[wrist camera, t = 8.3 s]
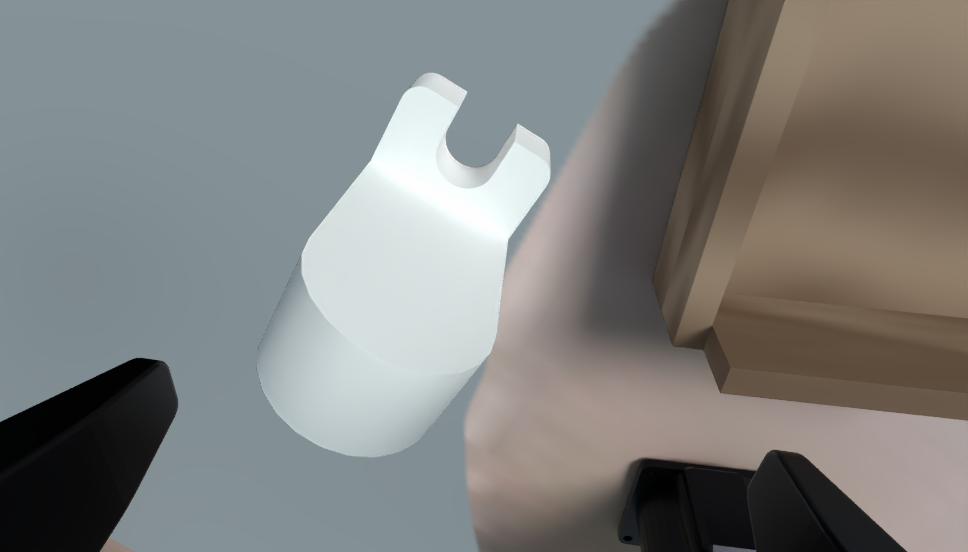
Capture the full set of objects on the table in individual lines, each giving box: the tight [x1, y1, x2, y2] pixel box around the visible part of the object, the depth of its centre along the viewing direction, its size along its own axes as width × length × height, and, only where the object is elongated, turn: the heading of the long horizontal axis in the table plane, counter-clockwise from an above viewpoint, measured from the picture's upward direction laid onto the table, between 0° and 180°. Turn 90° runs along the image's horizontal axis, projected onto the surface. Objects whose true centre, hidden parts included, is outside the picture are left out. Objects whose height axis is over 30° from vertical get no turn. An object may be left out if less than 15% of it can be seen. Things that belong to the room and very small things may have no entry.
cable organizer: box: [257, 73, 550, 457], centre depth 16 cm, size 5×10×10 cm, turn 149°
